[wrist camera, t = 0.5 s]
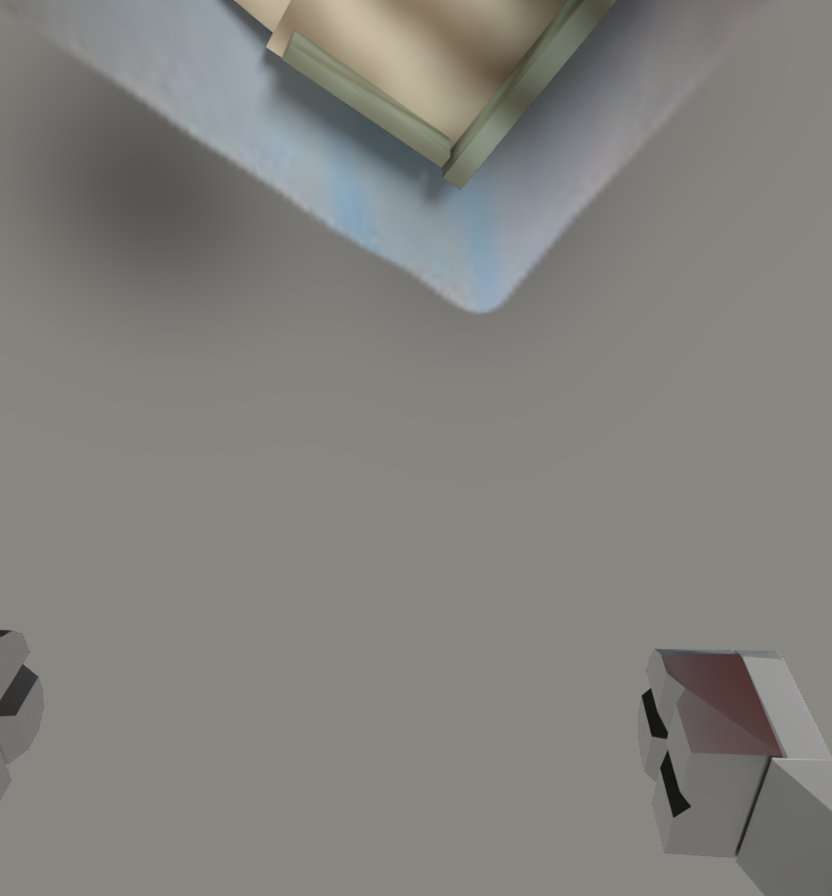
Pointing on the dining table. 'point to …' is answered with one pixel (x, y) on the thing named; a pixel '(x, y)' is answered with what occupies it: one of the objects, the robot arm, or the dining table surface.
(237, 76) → the dining table surface
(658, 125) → the dining table surface
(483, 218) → the dining table surface
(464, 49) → the dock
